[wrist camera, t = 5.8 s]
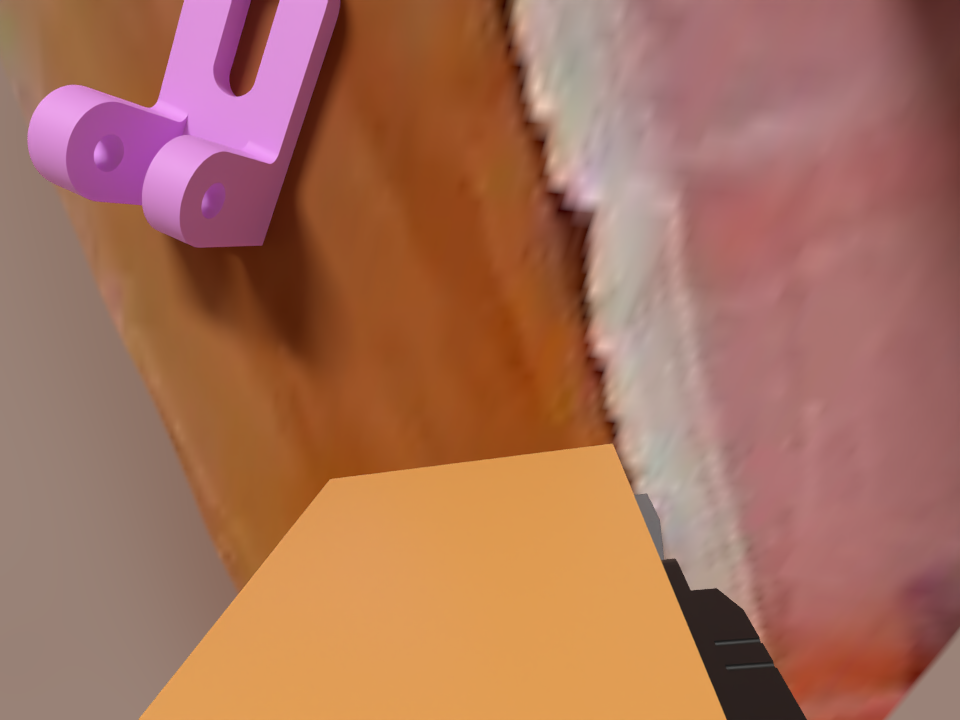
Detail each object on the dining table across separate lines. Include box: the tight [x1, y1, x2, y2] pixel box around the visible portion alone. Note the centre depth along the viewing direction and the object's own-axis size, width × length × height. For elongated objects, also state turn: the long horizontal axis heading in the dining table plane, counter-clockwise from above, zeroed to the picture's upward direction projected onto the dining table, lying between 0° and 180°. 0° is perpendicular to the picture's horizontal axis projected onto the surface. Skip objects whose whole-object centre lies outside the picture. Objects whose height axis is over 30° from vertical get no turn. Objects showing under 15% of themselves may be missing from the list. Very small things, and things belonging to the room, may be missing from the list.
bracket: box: [28, 0, 340, 248], centre depth 20 cm, size 13×6×7 cm, turn 156°
